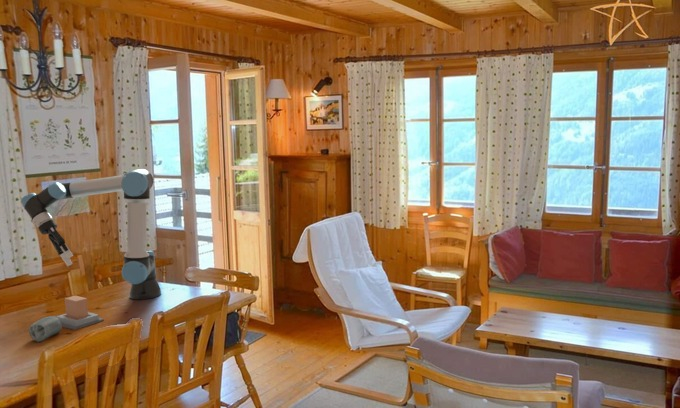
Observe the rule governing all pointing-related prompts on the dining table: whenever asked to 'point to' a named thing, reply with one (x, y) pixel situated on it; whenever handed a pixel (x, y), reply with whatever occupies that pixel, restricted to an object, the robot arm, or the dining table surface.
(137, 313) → the dining table surface
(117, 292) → the dining table surface
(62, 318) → the base
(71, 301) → the key block
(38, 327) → the grey faceted cylinder
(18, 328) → the dining table surface
